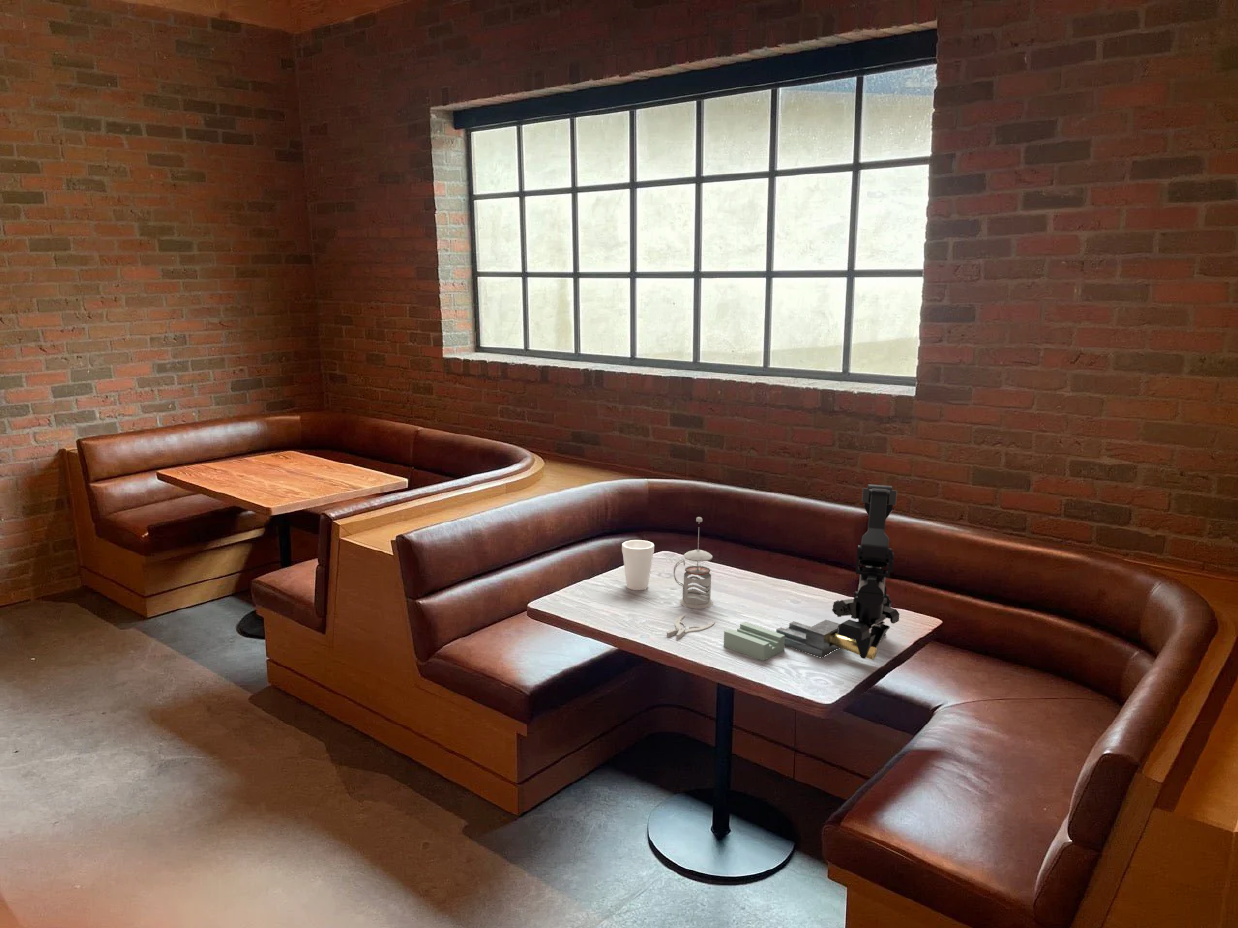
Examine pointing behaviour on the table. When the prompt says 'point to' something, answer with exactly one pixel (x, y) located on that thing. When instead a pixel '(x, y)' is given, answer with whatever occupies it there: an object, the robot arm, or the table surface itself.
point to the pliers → (681, 631)
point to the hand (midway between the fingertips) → (866, 655)
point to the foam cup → (637, 563)
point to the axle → (850, 645)
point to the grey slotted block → (810, 637)
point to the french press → (696, 579)
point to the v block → (754, 641)
